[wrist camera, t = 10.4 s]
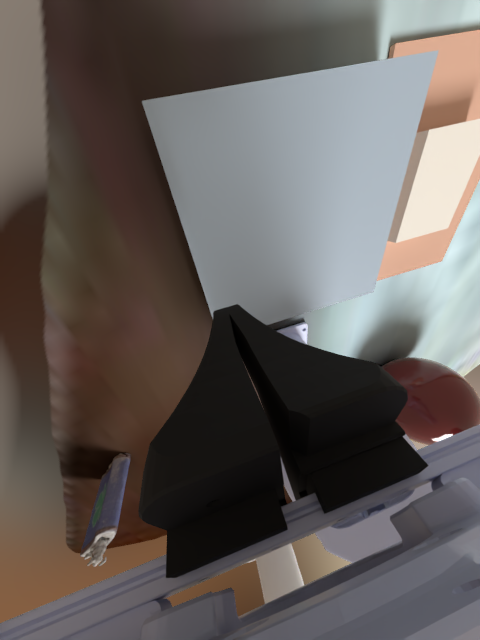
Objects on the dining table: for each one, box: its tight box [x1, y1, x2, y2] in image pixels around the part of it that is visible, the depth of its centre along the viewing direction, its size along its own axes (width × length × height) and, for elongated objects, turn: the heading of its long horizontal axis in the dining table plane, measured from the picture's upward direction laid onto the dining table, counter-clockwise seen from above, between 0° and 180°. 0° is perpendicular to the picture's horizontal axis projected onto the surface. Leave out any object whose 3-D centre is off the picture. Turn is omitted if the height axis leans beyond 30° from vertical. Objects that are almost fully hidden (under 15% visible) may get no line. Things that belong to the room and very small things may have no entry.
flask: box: [80, 453, 131, 566], centre depth 28 cm, size 9×3×11 cm, turn 145°
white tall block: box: [247, 543, 304, 604], centre depth 38 cm, size 11×7×20 cm, turn 162°
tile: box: [387, 119, 480, 243], centre depth 17 cm, size 8×6×2 cm
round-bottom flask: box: [382, 358, 480, 445], centre depth 29 cm, size 13×13×20 cm
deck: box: [142, 50, 439, 325], centre depth 16 cm, size 15×16×4 cm
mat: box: [377, 30, 480, 281], centre depth 19 cm, size 18×13×1 cm
